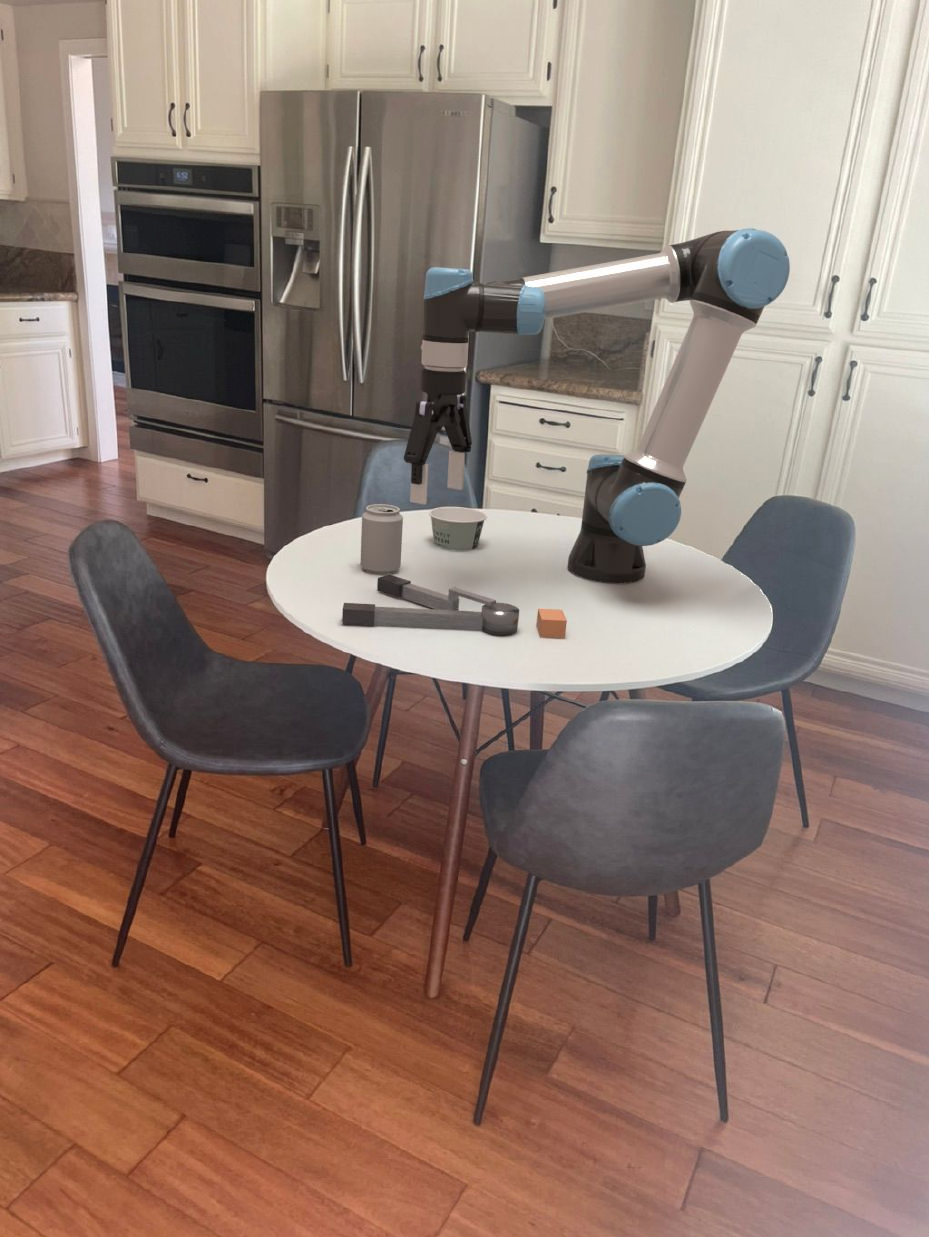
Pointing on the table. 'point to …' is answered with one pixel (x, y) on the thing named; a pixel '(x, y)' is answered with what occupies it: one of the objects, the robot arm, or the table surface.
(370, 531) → the can
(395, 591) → the tongs arm
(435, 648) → the table surface
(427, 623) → the tongs fixed
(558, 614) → the terracotta clay cube
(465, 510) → the food container
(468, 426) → the robot arm
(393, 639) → the table surface
